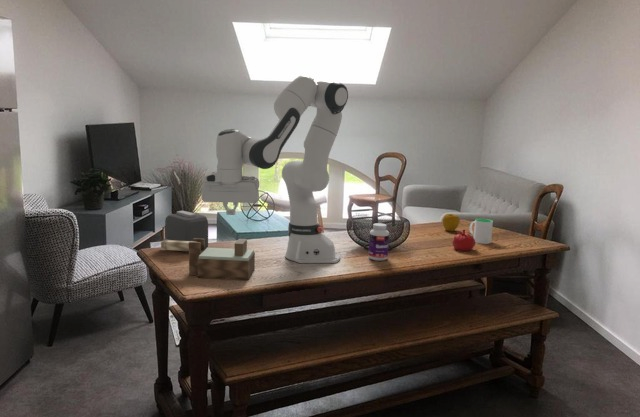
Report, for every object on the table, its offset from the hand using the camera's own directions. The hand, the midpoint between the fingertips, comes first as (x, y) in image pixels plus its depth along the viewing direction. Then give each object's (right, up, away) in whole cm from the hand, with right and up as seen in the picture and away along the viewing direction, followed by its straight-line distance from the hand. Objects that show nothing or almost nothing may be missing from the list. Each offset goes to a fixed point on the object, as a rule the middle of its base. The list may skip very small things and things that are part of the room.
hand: (231, 214), depth 191 cm
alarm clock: (-25, -15, +35) cm, 46 cm away
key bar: (-19, -13, +3) cm, 23 cm away
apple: (+99, -9, +87) cm, 132 cm away
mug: (+108, -14, +67) cm, 128 cm away
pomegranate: (+96, -16, +49) cm, 109 cm away
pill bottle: (+56, -19, +30) cm, 66 cm away
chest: (-4, -22, +4) cm, 22 cm away
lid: (-2, -15, +2) cm, 15 cm away
